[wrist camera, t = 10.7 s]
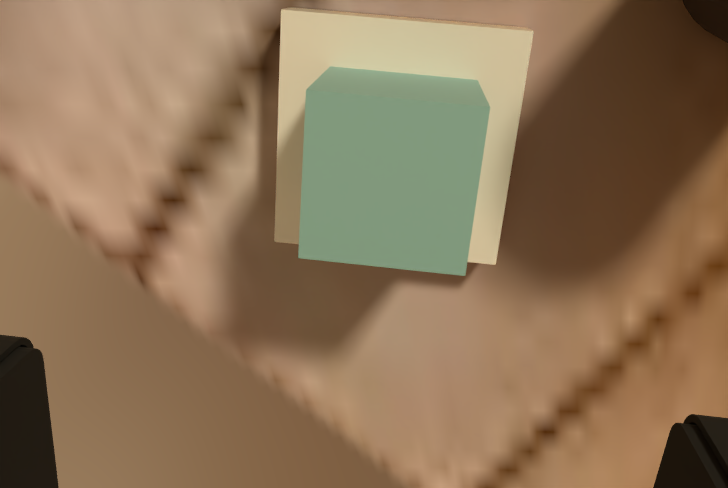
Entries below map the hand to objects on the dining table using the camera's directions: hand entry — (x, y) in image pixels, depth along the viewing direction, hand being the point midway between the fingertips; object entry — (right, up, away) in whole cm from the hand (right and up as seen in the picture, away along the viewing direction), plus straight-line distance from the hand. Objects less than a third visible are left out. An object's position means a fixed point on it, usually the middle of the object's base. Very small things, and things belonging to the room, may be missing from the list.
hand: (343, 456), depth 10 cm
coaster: (+2, +8, +20) cm, 22 cm away
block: (+2, +7, +19) cm, 20 cm away
